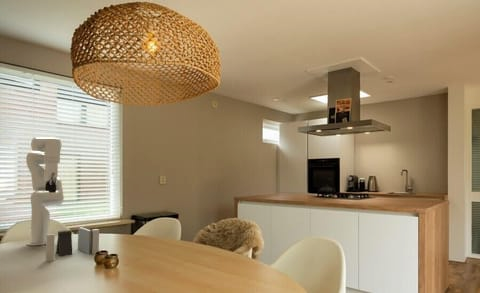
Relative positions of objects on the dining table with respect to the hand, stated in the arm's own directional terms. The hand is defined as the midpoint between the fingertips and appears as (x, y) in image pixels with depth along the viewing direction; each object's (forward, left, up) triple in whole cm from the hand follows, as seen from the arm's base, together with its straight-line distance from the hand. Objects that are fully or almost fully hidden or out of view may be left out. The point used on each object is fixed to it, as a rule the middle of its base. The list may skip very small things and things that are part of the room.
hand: (50, 191), depth 180 cm
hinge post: (+20, +18, -32) cm, 42 cm away
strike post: (+20, -3, -32) cm, 38 cm away
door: (+12, +15, -32) cm, 38 cm away
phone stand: (+10, +6, -33) cm, 35 cm away
